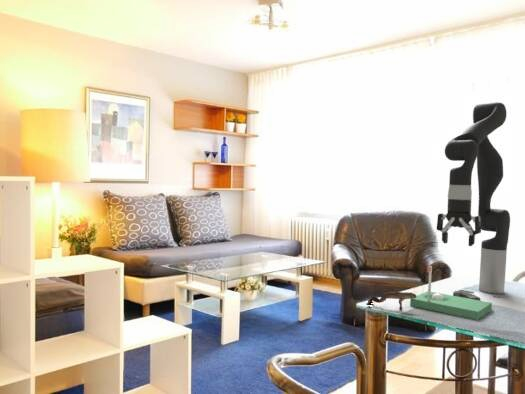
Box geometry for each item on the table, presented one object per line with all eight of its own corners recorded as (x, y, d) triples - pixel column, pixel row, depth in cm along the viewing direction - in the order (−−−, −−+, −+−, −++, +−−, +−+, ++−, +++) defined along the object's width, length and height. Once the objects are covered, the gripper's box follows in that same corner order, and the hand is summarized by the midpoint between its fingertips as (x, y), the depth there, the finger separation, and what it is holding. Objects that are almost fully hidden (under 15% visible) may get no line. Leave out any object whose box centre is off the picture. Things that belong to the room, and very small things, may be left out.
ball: (433, 294, 167) (444, 293, 165) (434, 305, 166) (446, 304, 164) (429, 293, 164) (440, 292, 162) (430, 305, 163) (442, 304, 161)
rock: (485, 303, 170) (486, 292, 170) (469, 306, 164) (470, 294, 164) (466, 298, 176) (467, 287, 176) (450, 301, 171) (450, 290, 170)
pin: (428, 300, 159) (429, 265, 159) (430, 301, 159) (432, 266, 158) (424, 302, 157) (426, 266, 156) (427, 302, 156) (429, 267, 156)
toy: (381, 325, 156) (419, 301, 152) (365, 303, 157) (402, 279, 154) (382, 321, 161) (419, 297, 157) (366, 299, 163) (402, 276, 159)
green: (427, 297, 174) (427, 291, 174) (491, 310, 160) (491, 302, 160) (410, 305, 162) (410, 298, 162) (477, 319, 148) (478, 311, 147)
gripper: (484, 198, 161) (482, 245, 162) (442, 196, 170) (441, 241, 171) (477, 199, 155) (475, 248, 156) (435, 197, 165) (433, 243, 165)
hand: (457, 244), depth 164 cm, fingers open, 8 cm apart
